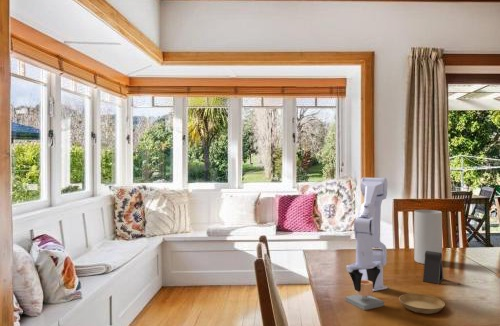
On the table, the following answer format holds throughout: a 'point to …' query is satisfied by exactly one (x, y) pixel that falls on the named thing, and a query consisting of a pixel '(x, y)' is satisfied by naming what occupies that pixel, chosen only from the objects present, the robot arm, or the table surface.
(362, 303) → the post base
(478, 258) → the table surface
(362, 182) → the robot arm
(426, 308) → the plant saucer
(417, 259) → the cylinder vase
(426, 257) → the phone stand
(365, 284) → the ring
